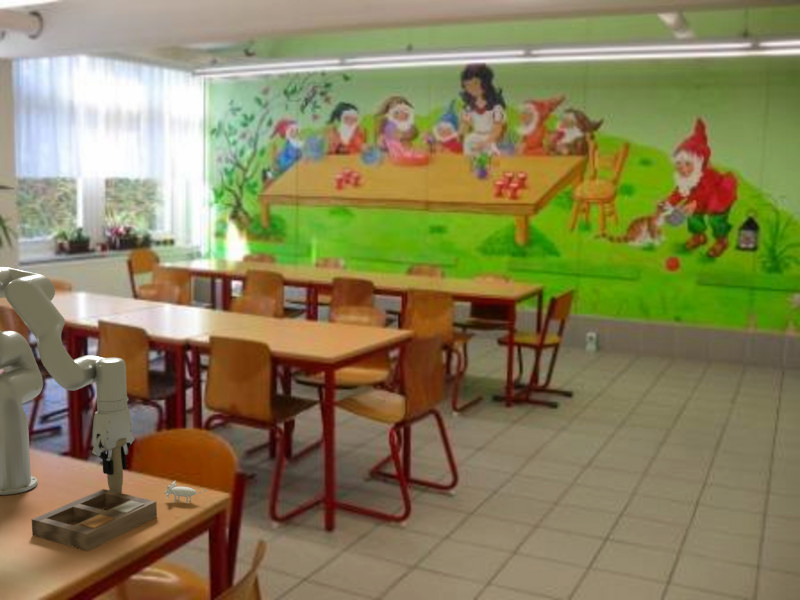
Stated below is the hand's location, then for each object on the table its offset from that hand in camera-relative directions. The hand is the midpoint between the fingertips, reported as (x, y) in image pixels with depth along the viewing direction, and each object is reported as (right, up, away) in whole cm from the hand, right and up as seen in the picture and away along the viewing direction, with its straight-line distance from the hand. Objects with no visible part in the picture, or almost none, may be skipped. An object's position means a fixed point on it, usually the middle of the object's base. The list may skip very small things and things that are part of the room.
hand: (114, 470), depth 219 cm
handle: (0, -6, +1) cm, 6 cm away
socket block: (+3, -9, -20) cm, 23 cm away
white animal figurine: (+21, -8, -5) cm, 22 cm away
